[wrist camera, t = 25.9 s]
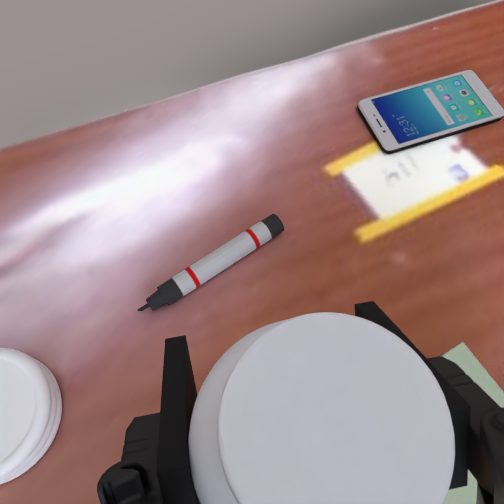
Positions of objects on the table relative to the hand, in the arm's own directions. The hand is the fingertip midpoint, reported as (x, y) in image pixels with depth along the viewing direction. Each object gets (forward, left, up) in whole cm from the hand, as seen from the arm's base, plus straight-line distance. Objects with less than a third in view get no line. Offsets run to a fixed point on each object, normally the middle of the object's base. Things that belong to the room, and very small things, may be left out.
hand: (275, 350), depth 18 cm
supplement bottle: (+3, -1, -5) cm, 6 cm away
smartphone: (-18, +33, -22) cm, 43 cm away
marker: (-13, +3, -22) cm, 26 cm away
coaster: (-11, -18, -22) cm, 30 cm away
